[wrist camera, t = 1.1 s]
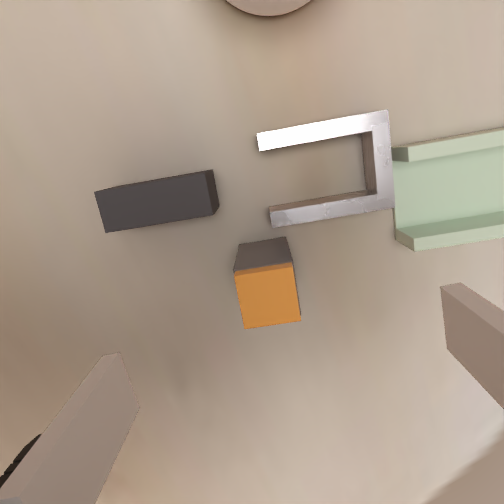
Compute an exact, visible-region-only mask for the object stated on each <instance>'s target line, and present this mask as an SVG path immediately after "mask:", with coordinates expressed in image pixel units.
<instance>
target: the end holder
mask: <svg viewBox="0 0 504 504" xmlns="http://www.w3.org/2000/svg"><path fill="white" fill-rule="evenodd" d="M391 155H392V168H393V181H394V195H395V208H393V214H394V227H395V239H396V240H397V241H399V242H400V243H402V244H403V245H405V246H406V247H408V248H410V249H411V250H413V251H414V252H417V251H423V250H429V249H436V248H442V247H448V246H454V245H461V244H467V243H473V242H480V241H486V240H492V239H499V238H504V127H501V128H495V129H490V130H484V131H478V132H473V133H467V134H462V135H456V136H450V137H445V138H439V139H434V140H428V141H422V142H417V143H411V144H406V145H400V146H394V147H391Z"/></svg>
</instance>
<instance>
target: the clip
mask: <svg viewBox="0 0 504 504" xmlns="http://www.w3.org/2000/svg"><path fill="white" fill-rule="evenodd" d="M356 133H361V138H362V149H363V159H364V170H365V180H366V190H363V191H357V192H351V193H345V194H340V195H334V196H328V197H322V198H316V199H311V200H305V201H299V202H293V203H287V204H281V205H276V206H270V207H269V211H270V218H271V224H272V228H276V227H282V226H288V225H294V224H300V223H306V222H312V221H318V220H324V219H330V218H336V217H342V216H347V215H353V214H359V213H365V212H371V211H377V210H383V209H389V208H395V195H394V181H393V168H392V155H391V141H390V128H389V115H388V109H387V110H382V111H376V112H371V113H365V114H360V115H355V116H349V117H344V118H338V119H333V120H328V121H322V122H317V123H311V124H306V125H301V126H295V127H290V128H285V129H279V130H274V131H268V132H263V133H258V134H257V139H258V145H259V151H262V150H268V149H273V148H279V147H284V146H290V145H295V144H301V143H306V142H312V141H317V140H323V139H328V138H334V137H339V136H345V135H350V134H356Z"/></svg>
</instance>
